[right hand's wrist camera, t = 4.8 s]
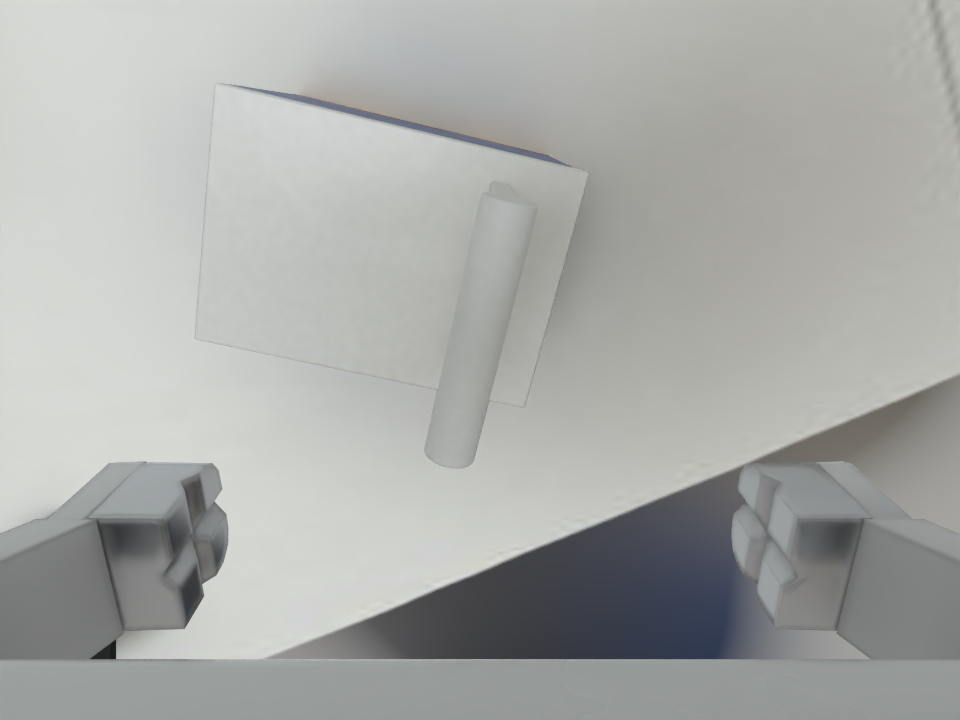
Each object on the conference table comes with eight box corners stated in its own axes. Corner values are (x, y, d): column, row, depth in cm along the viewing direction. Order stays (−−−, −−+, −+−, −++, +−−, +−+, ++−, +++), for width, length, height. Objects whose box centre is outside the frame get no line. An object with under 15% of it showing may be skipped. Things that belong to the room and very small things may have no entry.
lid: (585, 170, 24) (640, 194, 16) (523, 398, 27) (542, 514, 19) (224, 83, 23) (87, 61, 15) (204, 331, 26) (81, 424, 18)
